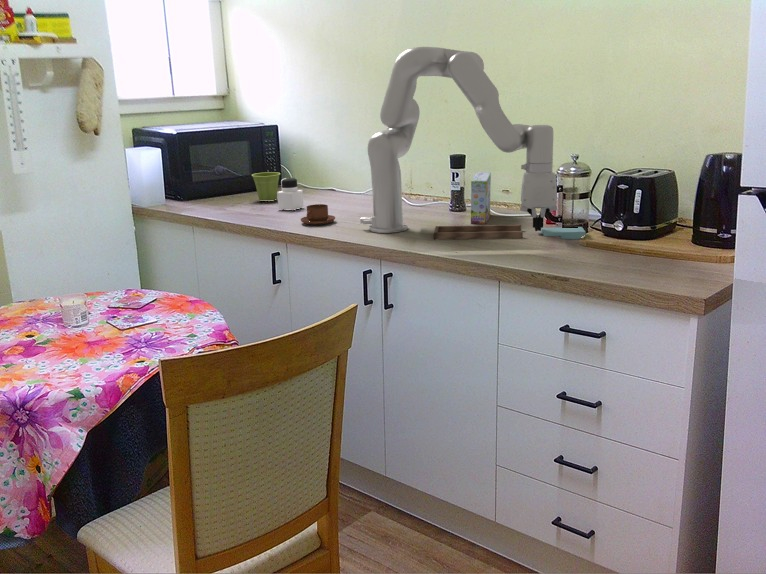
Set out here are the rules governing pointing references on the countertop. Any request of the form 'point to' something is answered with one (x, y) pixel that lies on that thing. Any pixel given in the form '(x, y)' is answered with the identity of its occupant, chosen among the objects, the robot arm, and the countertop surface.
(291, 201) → the medicine bottle
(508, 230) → the walnut box
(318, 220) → the cup and saucer
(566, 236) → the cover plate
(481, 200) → the snack box
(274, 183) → the plant pot
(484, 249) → the countertop surface
